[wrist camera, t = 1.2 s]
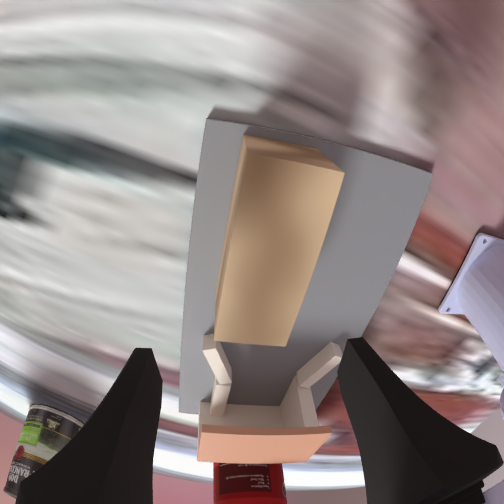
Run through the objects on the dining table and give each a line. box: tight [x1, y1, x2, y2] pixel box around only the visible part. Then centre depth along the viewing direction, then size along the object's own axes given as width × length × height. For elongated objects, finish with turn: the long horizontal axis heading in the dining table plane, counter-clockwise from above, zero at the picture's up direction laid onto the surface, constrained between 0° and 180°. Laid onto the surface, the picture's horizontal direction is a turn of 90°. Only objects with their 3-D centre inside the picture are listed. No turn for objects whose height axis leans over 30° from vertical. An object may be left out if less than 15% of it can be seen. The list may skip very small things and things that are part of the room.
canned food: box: [214, 462, 287, 504], centre depth 28 cm, size 8×8×11 cm
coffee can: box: [4, 404, 84, 499], centre depth 26 cm, size 10×10×14 cm
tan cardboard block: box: [214, 134, 345, 347], centre depth 16 cm, size 4×10×4 cm, turn 169°
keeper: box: [179, 118, 434, 464], centre depth 20 cm, size 14×27×7 cm, turn 169°
